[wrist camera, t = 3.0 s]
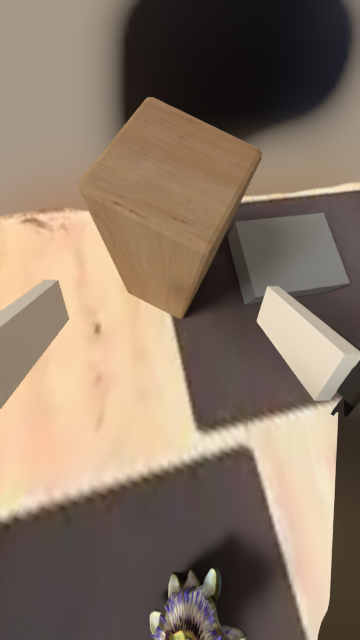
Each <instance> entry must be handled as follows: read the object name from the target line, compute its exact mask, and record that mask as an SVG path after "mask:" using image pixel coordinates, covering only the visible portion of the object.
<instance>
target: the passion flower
mask: <svg viewBox="0 0 360 640" xmlns="http://www.w3.org/2000/svg"><path fill="white" fill-rule="evenodd" d="M220 589H221V575H220V572H219V570H218V568H217V567H215V568H211V569H210V571H209V572H208V574H207V576H206V578H205V580H204V584H203V585H202V586H201V585H200V582H199V580H198V578H197V576H196V574H195V573H194V571H193V570H192V569H190V571H189V573H188V577H187V581H186V582H185V583H182V582H181V581H180V579H179V577H178V576H177V575H176V574H172V575H171V578H170V581H169V592H168V602H167V604H166V605H164V609H165V610H164V612H161V611H160V610H154V611H152V612H151V614H150V629H151V632H152V634H149V636H151V637H153V638H154V640H247V636H246V634H245V633H244V632H243V631H242V630H241V629H239V628H235V627H230V626H227V625H220V623H219V620H218V616H217V613H216V603H217V598H218V597H219V595H220Z"/></svg>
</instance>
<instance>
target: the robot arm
mask: <svg viewBox="0 0 360 640" xmlns="http://www.w3.org/2000/svg"><path fill="white" fill-rule="evenodd" d="M68 320H69V317H68V313H67V310H66V306H65V302H64V299H63V295H62V292H61V288H60V285H59V281H58V280H44V281H42V282H41V283H40V284H38V285H37V286H35V287H34V288H33V289H31V290H30V291H28V292H27V293H26V294H24V295H23V296H21V297H20V298H19V299H17V300H16V301H14V302H13V303H12V304H10V305H9V306H7V307H6V308H5V309H3V310H2V311H0V409H1V408H2V407H3V405H4V404H5V403H6V401H7V400H8V399H9V397H10V396H11V395H12V394H13V392H14V391H15V390H16V388H17V387H18V386H19V384H20V383H21V382H22V380H23V379H24V378H25V376H26V375H27V374H28V373H29V371H30V370H31V369H32V367H33V366H34V365H35V363H36V362H37V361H38V359H39V358H40V357H41V355H42V354H43V353H44V352H45V350H46V349H47V348H48V346H49V345H50V344H51V342H52V341H53V340H54V338H55V337H56V336H57V334H58V333H59V332H60V331H61V329H62V328H63V327H64V325H65V324H66V323H67V321H68ZM257 323H258V324H259V325H260V327H261V328H262V329H263V331H264V332H265V334H266V335H267V336H268V338H269V339H270V340H271V342H272V343H273V345H274V346H275V347H276V349H277V350H278V351H279V353H280V354H281V355H282V357H283V358H284V360H285V361H286V362H287V364H288V365H289V366H290V368H291V369H292V371H293V372H294V373H295V375H296V376H297V377H298V379H299V380H300V382H301V383H302V384H303V386H304V387H305V388H306V390H307V391H308V393H309V394H310V395H311V397H312V398H313V399H314V401H323V400H331V399H332V397H333V396H334V395H335V393H336V392H337V391H338V393H339V394H340V395H341V396H342V397H343V398H342V399H341V400H340V402H339V403H338V404H337V406H336V407H335V408H334V410H333V411H332V413H331V415H333V416H334V415H335V413H336V412H338V434H337V455H336V477H335V499H334V521H333V542H332V564H331V586H330V600H329V606H328V610H327V612H326V614H325V616H324V618H323V620H322V623H321V626H320V630H319V634H318V640H360V349H359V348H358V347H357V346H355V345H354V344H353V343H351V342H350V341H348V339H346V338H345V337H344V336H342V335H341V334H340V333H339V332H338V331H336V330H335V329H334V328H332V327H330V326H328V325H326V324H325V323H324V322H322V321H321V320H320V319H319V318H317V317H316V316H315V315H314V314H312V313H311V312H310V311H309V310H307V309H306V308H305V307H304V306H303V305H301V304H300V303H299V302H298V301H296V300H295V299H294V298H293V297H291V296H290V295H289V294H288V293H286V292H285V291H284V290H283V289H281V288H280V287H279V286H267V289H266V292H265V296H264V299H263V302H262V305H261V308H260V312H259V315H258V318H257Z"/></svg>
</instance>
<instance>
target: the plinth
mask: <svg viewBox="0 0 360 640" xmlns="http://www.w3.org/2000/svg"><path fill="white" fill-rule="evenodd" d="M227 238H228V241H229V245H230V249H231V253H232V257H233V261H234V265H235V269H236V273H237V277H238V281H239V285H240V289H241V293H242V297H243V300H244V304H245V305H248V304H255V303H261V302H263V299H264V296H265V292H266V289H267V286H279V287H280V288H281V289H283V290H284V291H285V292H286V293H288V294H289V295H290V296H291V297H293V298H294V297H300V296H307V295H313V294H320V293H326V292H330V291H333V290H335V289H337V288H340V287H342V286H344V285H346V284H349V283H350V282H349V280H348V277H347V274H346V272H345V269H344V266H343V264H342V261H341V258H340V256H339V253H338V250H337V248H336V245H335V242H334V240H333V237H332V234H331V232H330V229H329V226H328V224H327V221H326V218H325V216H324V213H317V214H307V215H297V216H287V217H277V218H267V219H257V220H247V221H237V222H235V223H234V225H233V227H232V229H231V231H230V233H229V235H228V237H227Z"/></svg>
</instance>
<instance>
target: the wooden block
mask: <svg viewBox="0 0 360 640" xmlns="http://www.w3.org/2000/svg"><path fill="white" fill-rule="evenodd" d="M261 153H262V152H261V151H260V149H258V148H256V147H254V146H252V145H250V144H248V143H246V142H244V141H242V140H240V139H238V138H236V137H233V136H232V135H230V134H227V133H226V132H223V131H221V130H219V129H217V128H215V127H213V126H211V125H209V124H207V123H205V122H203V121H201V120H199V119H197V118H194V117H193V116H190V115H188V114H186V113H184V112H182V111H180V110H178V109H176V108H174V107H172V106H170V105H168V104H165V103H164V102H162V101H160V100H157V99H155V98H153V97H149V98H146V100H145V101H144V102H143V103H142V104H141V106H140V107H139V108H138V109H137V111H136V112H135V113H134V114H133V116H132V117H131V118H130V119H129V120H128V122H127V123H126V124H125V125H124V127H123V128H122V129H121V130H120V132H119V133H118V134H117V135H116V136H115V138H114V139H113V140H112V142H111V143H110V144H109V145H108V146H107V148H106V149H105V150H104V151H103V152H102V154H101V155H100V156H99V157H98V159H97V160H96V161H95V162H94V164H93V165H92V166H91V167H90V169H89V170H88V171H87V172H86V174H85V175H84V176H83V177H82V178H81V180H80V181H79V184H78V189H79V191H80V194H81V196H82V197H83V200H84V202H85V204H86V206H87V208H88V210H89V212H90V214H91V216H92V218H93V221H94V223H95V225H96V227H97V229H98V231H99V233H100V235H101V237H102V239H103V241H104V243H105V246H106V248H107V250H108V252H109V254H110V256H111V258H112V260H113V262H114V264H115V266H116V268H117V270H118V273H119V275H120V277H121V279H122V281H123V283H124V285H125V287H126V289H127V291H128V292H129V293H130V294H132V295H134V296H136V297H138V298H140V299H142V300H144V301H145V302H147V303H149V304H151V305H153V306H155V307H157V308H159V309H161V310H163V311H165V312H167V313H169V314H171V315H173V316H175V317H177V318H179V319H182V318H183V317H184V315H185V313H186V311H187V309H188V308H189V306H190V304H191V302H192V300H193V298H194V296H195V294H196V292H197V290H198V288H199V286H200V284H201V282H202V281H203V279H204V277H205V275H206V273H207V271H208V269H209V267H210V265H211V263H212V260H213V258H214V256H215V254H216V252H217V250H218V248H219V246H220V244H221V242H222V240H223V237H224V235H225V233H226V231H227V229H228V227H229V225H230V223H231V221H232V219H233V217H234V215H235V212H236V210H237V208H238V206H239V204H240V202H241V200H242V198H243V196H244V194H245V192H246V190H247V187H248V185H249V183H250V181H251V179H252V177H253V175H254V173H255V171H256V169H257V166H258V164H259V162H260V160H261Z"/></svg>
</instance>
